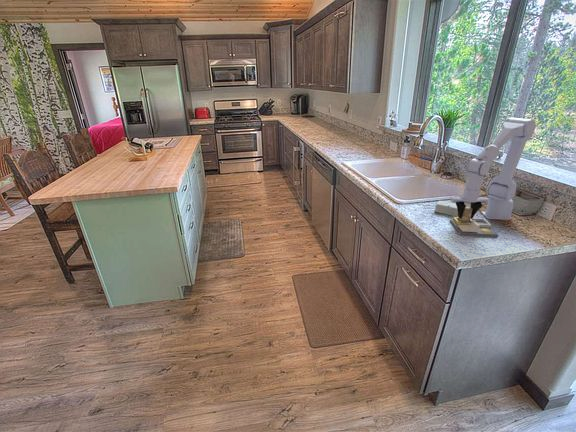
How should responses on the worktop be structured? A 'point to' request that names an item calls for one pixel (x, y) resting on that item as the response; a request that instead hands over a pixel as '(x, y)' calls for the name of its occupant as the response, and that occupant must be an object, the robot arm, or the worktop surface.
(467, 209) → the beige small block
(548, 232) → the worktop surface
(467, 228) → the cover
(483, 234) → the board
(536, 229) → the worktop surface
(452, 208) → the skincare box
